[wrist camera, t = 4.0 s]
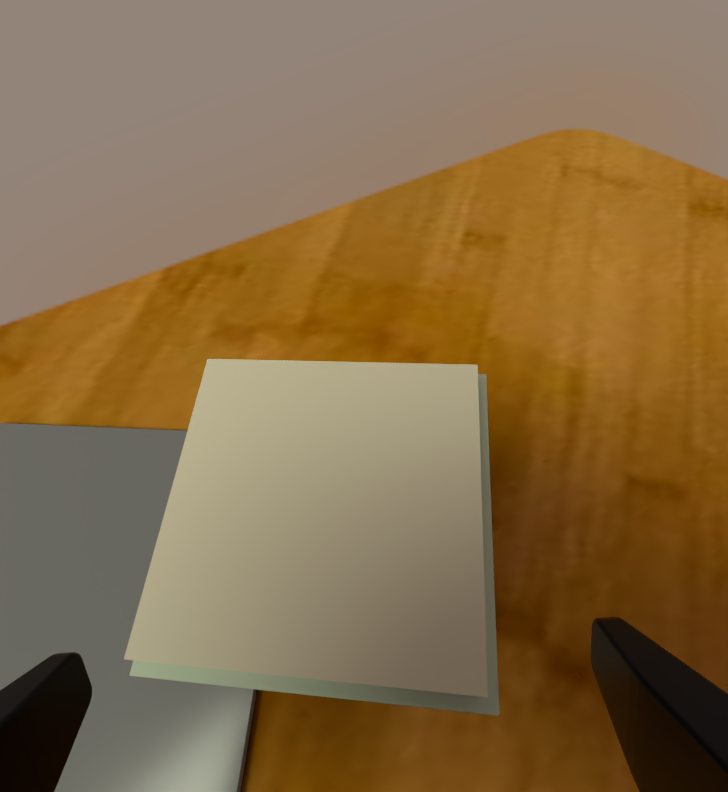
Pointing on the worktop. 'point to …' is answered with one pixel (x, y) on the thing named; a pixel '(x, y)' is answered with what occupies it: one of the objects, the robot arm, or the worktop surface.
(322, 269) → the worktop surface
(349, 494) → the tea tin
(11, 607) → the plate
